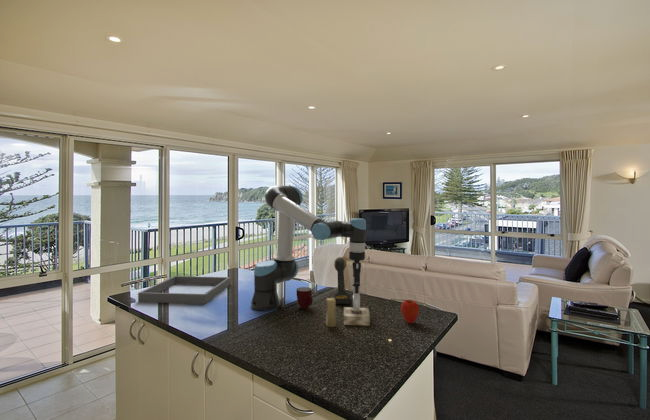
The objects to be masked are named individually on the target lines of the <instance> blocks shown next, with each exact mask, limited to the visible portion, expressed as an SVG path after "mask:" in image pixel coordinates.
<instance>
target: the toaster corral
mask: <svg viewBox="0 0 650 420" xmlns="http://www.w3.org/2000/svg"><path fill="white" fill-rule="evenodd" d="M175 285H195V286H196V285H202V286H213V287H212V288H211V289H208V290H207V291H206V292H205V293H184V292H183V293H179V292H178V293H177V292H175V293H174V292H163V291H165V290H168V289H169V288H171V287H173V286H175ZM229 285H230V286H231V277H230V276H197V275H196V276H193V275H191V276H190V275H187V276H185V275H184V276H183V275H174V276H172V277H170V278H168V279H165V280H163V281H161V282H158V283H157V284H156V283H155V285H152V286H150V287H148V288H146V289H143V290H141V291H139V292H138V293H137V301H138V303H156V304H157V303H159V304H163V303H166V304H188V305H189V304H190V305H191V304H193V305H195V304H196V305H197V304H198V305H206V304H208V303H209V302H210V301H212V300H213V299H215V297H217V296H218V295H219V294H220V293H222V292H223V291H224V290H226V289H227V288H229ZM225 288H226V289H225ZM221 291H222V292H221ZM216 295H217V296H216Z"/></svg>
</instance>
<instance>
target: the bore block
mask: <svg viewBox="0 0 650 420" xmlns="http://www.w3.org/2000/svg"><path fill="white" fill-rule="evenodd" d="M343 326H371V316H370V310H369V307H360V314H354V313H353V306H352V307H351V306H350V307H349V306H344V307H343Z"/></svg>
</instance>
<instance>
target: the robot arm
mask: <svg viewBox="0 0 650 420" xmlns="http://www.w3.org/2000/svg"><path fill="white" fill-rule="evenodd" d="M264 201H265V202H266V204H267V205H268V206H269V207H270V208H271V209H273V210H274V211H276V212H278V227H277V228H278V231H277V247H276V249H277V251H276V255H275V256H274V257H273V260H269V259H268V260H262V261H260V262H257V263H256V264H255V266H254V271H253V277H254V278H253V279H254V281H253V282H254V283H253V285H254V292H253V295H252V299H251V302H250V307H251V308H252V309H253V310H255V311H256V310H257V311H271V310H275V309H277V308H279V307H280V305H281V304H280V302H281V301H280V298H279V294H278V292H277V284H281V283H284V282H289V281H291V280H293V279H295V278H296V276H297V275H298V272H299V265H298V263H297V261H296V260H295V259H296V258H295V257H294V255H293V248H294V232H295V231H294V230H295V222H296V224H298V225H300V226H302V227H304V228H306V229H307V230H308V231H310V233H311V235H312V237H313V238H314V239H315V240H318V241H319V240H320V241H323V240H329V239H334V238H349V242H348V246H349V247H348V249H349V251H348V259H349V260H350V261H353V262H352V270H353V271H352V292H353V293H352V301H353V300H359V295H360V290H361V289H360V288H361V283H360V282H361V269H362V268H361V267H362V262H361V261H365V260H366V259H365V258H366V252H365V251H366V247H367V246H368V245H367V244H366V231H367V221H366V219H365V218H359V217H358V218H357V217H355V218H354V217H352V218H350V221H341V220H331V221H329V222H327V221H325V220H324V219H322V218H320V217H319V216H317V215H315V214H314V213H312V212H310V211H309V210H308V209H306V208H304V207H303V206H302V203H303V193H302V191H301V190H300V188H298V187H296V186H292V185H276V184H275V185H272V186H270V187H269V188H268V189H267V190H266V192H265V194H264Z"/></svg>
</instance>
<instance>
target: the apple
mask: <svg viewBox="0 0 650 420" xmlns="http://www.w3.org/2000/svg"><path fill="white" fill-rule="evenodd" d="M400 313H401V315H402V317H403V318H404V320H405V322H406V323H408V324H413V323H414V322H415V321H416V320H417V318H418V316H419V314H420V307H419V305H418V303H417V301H415V300H411V299H405V300H404V301H403V302H402V303H401V306H400Z"/></svg>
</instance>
